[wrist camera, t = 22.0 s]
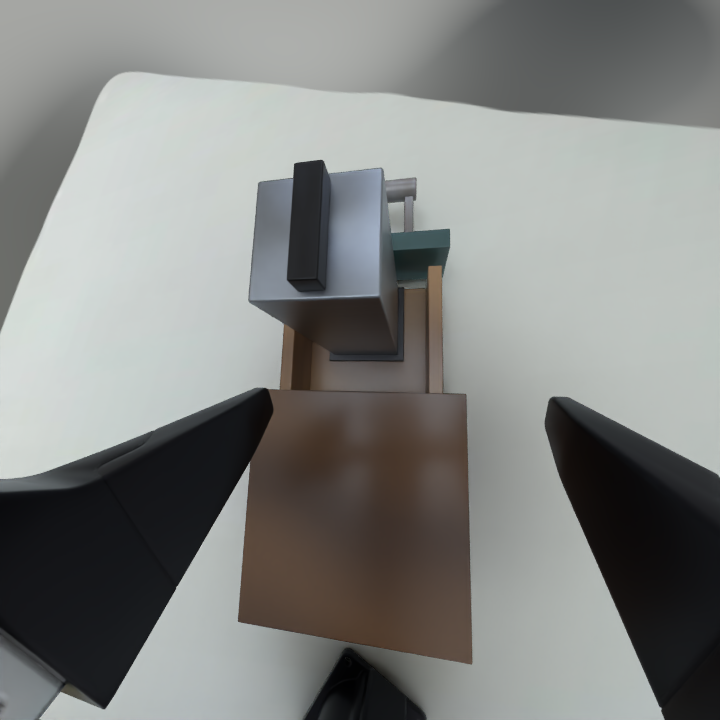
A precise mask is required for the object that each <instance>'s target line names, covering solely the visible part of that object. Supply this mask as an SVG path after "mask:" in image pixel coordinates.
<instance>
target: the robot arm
mask: <svg viewBox="0 0 720 720" xmlns="http://www.w3.org/2000/svg"><path fill="white" fill-rule="evenodd" d="M273 412H274V407H273V403H272V400H271V396H270V393H269V390H268V389H266V388H254V389H252V390H250V391H247V392H245V393H242V394H240V395H238V396H235V397H233V398H230V399H228V400H225V401H223V402H221V403H218V404H216V405H213V406H211V407H209V408H206V409H204V410H201V411H199V412H197V413H194V414H192V415H189V416H187V417H185V418H182V419H180V420H177V421H175V422H173V423H170V424H168V425H165V426H163V427H161V428H158V429H156V430H155V431H151V432H148V433H146V434H144V435H141V436H139V437H136V438H134V439H131V440H129V441H126V442H124V443H121V444H119V445H116V446H114V447H111V448H108V449H106V450H103V451H101V452H98V453H95V454H93V455H90V456H87V457H84V458H82V459H79V460H76V461H74V462H71V463H68V464H66V465H63V466H60V467H58V468H55V469H52V470H50V471H47V472H44V473H41V474H37V475H33V476H28V477H23V478H14V479H0V720H39V718H40V717H41V716H42V714H43V713H44V712H45V711H46V709H47V708H48V707H49V706H50V704H51V703H52V702H53V701H54V699H55V698H56V697H57V695H58V694H59V693H60V692H63V693H65V694H68V695H70V696H73V697H75V698H77V699H80V700H82V701H85V702H87V703H89V704H92V705H94V706H97V707H99V708H101V709H105V708H106V707H107V706H108V704H109V703H110V701H111V700H112V698H113V697H114V695H115V693H116V692H117V690H118V688H119V686H120V685H121V683H122V681H123V679H124V678H125V676H126V674H127V673H128V671H129V669H130V667H131V666H132V664H133V662H134V661H135V659H136V657H137V655H138V654H139V652H140V650H141V648H142V647H143V645H144V643H145V642H146V640H147V638H148V636H149V635H150V633H151V631H152V629H153V628H154V626H155V624H156V623H157V621H158V619H159V617H160V616H161V614H162V612H163V611H164V609H165V607H166V605H167V604H168V602H169V600H170V598H171V597H172V595H173V593H174V592H175V590H176V587H177V586H178V584H179V583H180V581H181V579H182V577H183V576H184V574H185V572H186V571H187V569H188V567H189V565H190V564H191V562H192V560H193V558H194V557H195V555H196V553H197V552H198V550H199V548H200V546H201V545H202V543H203V541H204V540H205V538H206V536H207V534H208V533H209V531H210V529H211V527H212V526H213V524H214V522H215V521H216V519H217V517H218V515H219V514H220V512H221V510H222V509H223V507H224V505H225V503H226V502H227V500H228V498H229V496H230V495H231V493H232V491H233V490H234V488H235V486H236V484H237V483H238V481H239V479H240V478H241V476H242V474H243V472H244V471H245V469H246V467H247V466H248V464H249V462H250V460H251V459H252V457H253V455H254V453H255V452H256V450H257V448H258V446H259V444H260V441H261V439H262V437H263V435H264V433H265V430H266V428H267V426H268V424H269V422H270V419H271V417H272V415H273ZM545 429H546V433H547V436H548V440H549V443H550V446H551V450H552V453H553V457H554V460H555V463H556V467H557V470H558V473H559V476H560V479H561V481H562V484H563V486H564V488H565V491H566V493H567V495H568V498H569V500H570V502H571V504H572V507H573V509H574V511H575V514H576V516H577V518H578V521H579V523H580V525H581V527H582V530H583V532H584V534H585V537H586V539H587V541H588V544H589V546H590V548H591V550H592V553H593V555H594V557H595V560H596V562H597V564H598V566H599V569H600V571H601V573H602V576H603V578H604V580H605V583H606V585H607V587H608V589H609V592H610V594H611V596H612V599H613V601H614V603H615V606H616V608H617V610H618V612H619V615H620V617H621V619H622V622H623V624H624V626H625V629H626V631H627V633H628V635H629V638H630V640H631V642H632V645H633V647H634V649H635V651H636V654H637V656H638V658H639V661H640V663H641V665H642V668H643V670H644V672H645V674H646V677H647V679H648V681H649V684H650V686H651V688H652V691H653V693H654V695H655V697H656V700H657V702H658V704H659V706H660V707H661V708H662V710H661V712H662V714H663V717H664V719H665V720H720V478H719V476H718V475H717V474H716V473H714V472H712V471H710V470H708V469H706V468H704V467H702V466H700V465H698V464H696V463H694V462H692V461H691V460H689V459H687V458H685V457H683V456H681V455H679V454H677V453H675V452H673V451H671V450H669V449H667V448H665V447H663V446H661V445H660V444H658V443H656V442H654V441H652V440H650V439H648V438H646V437H644V436H642V435H640V434H638V433H636V432H634V431H632V430H630V429H629V428H627V427H625V426H623V425H621V424H619V423H617V422H615V421H613V420H611V419H609V418H607V417H605V416H603V415H601V414H600V413H598V412H596V411H594V410H592V409H590V408H588V407H586V406H584V405H582V404H580V403H578V402H576V401H574V400H572V399H571V398H568V397H551V398H550V400H549V402H548V407H547V412H546V417H545ZM347 657H348V658H350V660H351V661H348V660H346V658H347ZM303 720H427V718H426V715H425V713H424V712H423V711H422V710H421V709H419V708H418V707H417V706H416V705H415V704H414V703H413V702H411V701H410V700H409V699H408V698H407V697H406V696H405V695H404V694H403V693H401V692H400V691H399V690H398V689H397V688H396V687H394V686H393V685H392V684H391V683H390V682H389V681H388V680H386V679H385V678H384V677H383V676H382V675H381V674H380V673H378V672H377V671H376V670H375V669H373V668H372V667H371V666H370V665H369V664H368V663H367V662H365V661H364V660H363V659H362V658H361V657H360V656H358V655H357V654H356V653H355V652H354V651H353V650H351V649H348V648H347V649H344V651H343V652H342V653H341V655H340V657H339V659H338V660H337V662H336V664H335V665H334V667H333V669H332V671H331V672H330V674H329V676H328V677H327V679H326V681H325V683H324V684H323V686H322V688H321V689H320V691H319V693H318V695H317V696H316V698H315V700H314V701H313V703H312V705H311V707H310V708H309V710H308V712H307V713H306V715H305V717H304V719H303Z"/></svg>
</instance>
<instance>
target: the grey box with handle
mask: <svg viewBox="0 0 720 720" xmlns="http://www.w3.org/2000/svg"><path fill="white" fill-rule="evenodd" d="M248 300H249V302H250V303H251V304H253V305H254V306H256V307H258V308H259V309H261V310H263V311H264V312H266V313H268V314H269V315H271V316H272V317H274V318H276V319H277V320H279V321H281V322H282V323H284V324H286V325H287V326H289V327H290V328H292V329H294V330H295V331H297V332H299V333H300V334H302V335H304V336H305V337H307V338H309V339H310V340H312V341H313V342H315V343H317V344H318V345H320V346H322V347H323V348H325V349H327V350H328V351H330V359H329V360H330V361H404V287H400V288H398V285H397V277H396V269H395V260H394V252H393V244H392V236H391V228H390V220H389V211H388V203H387V195H386V187H385V179H384V171H383V169H382V168H374V169H366V170H357V171H349V172H340V173H331V174H328V172H327V169H326V166H325V164H324V161H323V160H316V161H308V162H300V163H295V164H294V175H293V178H288V179H280V180H271V181H263V182H259V183H258V192H257V204H256V216H255V228H254V239H253V251H252V263H251V275H250V287H249V298H248Z"/></svg>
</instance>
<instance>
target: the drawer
mask: <svg viewBox="0 0 720 720" xmlns="http://www.w3.org/2000/svg"><path fill="white" fill-rule="evenodd" d="M385 187H386V195H387V203H395V202H405V206H404V232H401V233H391V236H392V244H393V252H394V260H395V269H396V277H397V280H414V279H427V281H426V288H422V289H404V361H330V360H329V359H330V351H328V350H327V349H325V348H323V347H322V346H320V345H318V344H317V343H315V342H313V341H312V340H310V339H309V338H307V337H305V336H304V335H302V334H300V333H299V332H297V331H295V330H294V329H292V328H290V327H289V326H287V325H286V324H284V334H283V349H282V364H281V379H280V390H318V391H361V392H405V393H443V337H442V277H443V273H444V269H445V265H446V261H447V257H448V253H449V249H450V229H441V230H428V231H414V232H413V201H415V200H416V178H406V179H397V180H387V181H385Z"/></svg>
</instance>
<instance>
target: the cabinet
mask: <svg viewBox="0 0 720 720" xmlns="http://www.w3.org/2000/svg"><path fill="white" fill-rule="evenodd" d="M268 390H269V393H270V396H271V400H272V403H273V407H274V412H273V415H272V417H271V419H270V422H269V424H268V426H267V428H266V430H265V433H264V435H263V437H262V439H261V441H260V444H259V446H258V448H257V450H256V452H255V453H254V455H253V457H252V459H251V460H250V473H249V486H248V498H247V511H246V524H245V537H244V550H243V563H242V576H241V588H240V601H239V614H238V622H241V623H247V624H252V625H258V626H263V627H269V628H274V629H280V630H285V631H291V632H296V633H302V634H307V635H313V636H318V637H324V638H329V639H335V640H340V641H346V642H351V643H357V644H362V645H368V646H373V647H379V648H384V649H390V650H395V651H401V652H406V653H412V654H417V655H423V656H428V657H434V658H439V659H445V660H450V661H456V662H461V663H467V664H472V623H471V579H470V535H469V492H468V448H467V404H466V394H448V393H405V392H361V391H318V390H274V389H268Z"/></svg>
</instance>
